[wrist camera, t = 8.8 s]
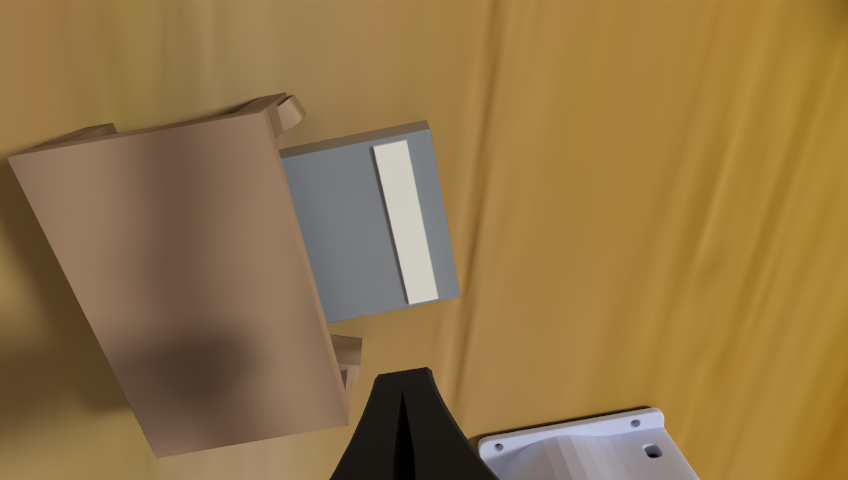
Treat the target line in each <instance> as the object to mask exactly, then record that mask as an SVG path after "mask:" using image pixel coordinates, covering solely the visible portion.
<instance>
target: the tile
mask: <svg viewBox="0 0 848 480" xmlns="http://www.w3.org/2000/svg"><path fill="white" fill-rule="evenodd" d="M279 154H280V157H281V161H282V165H283V168H284V172H285V175H286V179H287V183H288V186H289V190H290V193H291V197H292V201H293V204H294V208H295V211H296V215H297V219H298V222H299V226H300V229H301V233H302V237H303V240H304V244H305V247H306V251H307V255H308V258H309V262H310V265H311V269H312V273H313V276H314V280H315V283H316V287H317V291H318V294H319V298H320V301H321V305H322V309H323V312H324V316H325V319H326V323H332V322H337V321H342V320H347V319H352V318H357V317H362V316H367V315H372V314H377V313H382V312H387V311H392V310H397V309H402V308H407V307H412V306H417V305H422V304H427V303H432V302H437V301H442V300H447V299H452V298H457V297H460V292H459V286H458V281H457V275H456V270H455V264H454V258H453V253H452V247H451V242H450V236H449V231H448V225H447V220H446V214H445V209H444V203H443V198H442V192H441V187H440V181H439V176H438V170H437V164H436V159H435V153H434V148H433V142H432V137H431V131H430V128H429V125H428V123H427V120H424V121H419V122H414V123H409V124H404V125H399V126H394V127H389V128H384V129H379V130H374V131H369V132H364V133H359V134H354V135H349V136H344V137H339V138H334V139H329V140H324V141H319V142H315V143H310V144H305V145H300V146H295V147H290V148H285V149H280V150H279Z"/></svg>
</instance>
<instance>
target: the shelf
mask: <svg viewBox="0 0 848 480" xmlns="http://www.w3.org/2000/svg"><path fill="white" fill-rule="evenodd" d="M305 114H306V113H305V111H304V110H303V108H302V107H301V105H300V103H299V102H298V100H297V99H296V97H295V96H294V95H292V96H291V97H289V98H287V96H286V93H282V94H276V95H271V96H265V97H259V98H258V99H256V100H254V101H253V102H251V103H250V104H248V105H247V106H245V107H243V108H242V109H240V110H239V111H237V112H236V113H232V114H226V115H221V116H215V117H209V118H203V119H198V120H192V121H186V122H181V123H175V124H169V125H163V126H158V127H152V128H146V129H140V130H135V131H129V132H123V133H118V134H117V132H116V130H115V127H114V125H113V123H110V124H104V125H99V126H93V127H87V128H84V129H81V130H79V131H76V132H73V133H70V134H68V135H65V136H62V137H60V138H57V139H54V140H51V141H49V142H46V143H43V144H41V145H38V146H35V147H32V148H30V149H27V150H24V151H22V152H19V153H16V154H14V155H11V156H8V157H7V159H8V161H9V163H10V165H11V167H12V169H13V171H14V173H15V175H16V177H17V179H18V181H19V183H20V185H21V187H22V189H23V191H24V193H25V195H26V197H27V199H28V201H29V203H30V205H31V207H32V209H33V211H34V213H35V215H36V217H37V219H38V221H39V223H40V225H41V227H42V229H43V231H44V233H45V235H46V237H47V239H48V241H49V243H50V245H51V247H52V249H53V251H54V253H55V256H56V258H57V260H58V262H59V264H60V266H61V268H62V270H63V272H64V274H65V276H66V278H67V280H68V282H69V284H70V286H71V288H72V290H73V292H74V294H75V296H76V298H77V300H78V302H79V304H80V306H81V308H82V310H83V312H84V314H85V316H86V318H87V320H88V322H89V324H90V326H91V328H92V330H93V332H94V334H95V336H96V338H97V340H98V342H99V344H100V346H101V348H102V350H103V352H104V354H105V356H106V358H107V360H108V362H109V364H110V366H111V368H112V370H113V372H114V374H115V376H116V378H117V380H118V382H119V384H120V386H121V388H122V390H123V392H124V394H125V396H126V398H127V400H128V402H129V404H130V406H131V408H132V410H133V412H134V414H135V416H136V418H137V420H138V422H139V424H140V426H141V428H142V430H143V433H144V435H145V437H146V439H147V441H148V443H149V445H150V447H151V449H152V451H153V453H154V455H155V457H156V458H161V457H167V456H172V455H178V454H184V453H190V452H195V451H201V450H207V449H212V448H218V447H224V446H229V445H235V444H241V443H247V442H252V441H258V440H264V439H269V438H275V437H281V436H286V435H292V434H298V433H304V432H309V431H315V430H321V429H326V428H332V427H338V426H343V425H348V421H349V410H350V399H351V387H352V380H353V381H358V375H359V370H360V361H361V347H362V339H360V338H352V337H344V336H335V335H330V334H329V330H328V327H327V323H326V319H325V316H324V312H323V309H322V305H321V301H320V298H319V294H318V291H317V287H316V283H315V280H314V276H313V273H312V269H311V265H310V262H309V258H308V255H307V251H306V247H305V244H304V240H303V237H302V233H301V229H300V226H299V222H298V219H297V215H296V211H295V208H294V204H293V201H292V197H291V193H290V190H289V186H288V183H287V179H286V175H285V172H284V168H283V165H282V161H281V157H280V154H279V150H278V147H277V143H276V138H277V137H278V136H279V135H280V134H281V133H283V132H285V131H286V130H288V129H290V128H291V127H293V126H295V125H296V124H298V123H299V122H300V120H301V119H302V118H303V117H304V116H305Z"/></svg>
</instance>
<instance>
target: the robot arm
mask: <svg viewBox="0 0 848 480" xmlns="http://www.w3.org/2000/svg"><path fill="white" fill-rule="evenodd" d="M633 420H635V421H633ZM632 421H633V422H632ZM496 444H500V445H498V446H495V445H496ZM478 451H479V455H478V453H477V452H476V451H475V449H474V448H473V447H472V445H471V444H470V443H469V441H468V440H467V438H466V437H465V436H464V434H463V433H462V431H461V430H460V428H459V427H458V425H457V423H456V422H455V420H454V418H453V417H452V415H451V413H450V412H449V410H448V408H447V407H446V405H445V403H444V401H443V399H442V397H441V395H440V393H439V391H438V389H437V386H436V384H435V381H434V378H433V375H432V370H430V369H429V368H427V367H424V368H418V369H411V370H405V371H399V372H392V373H386V374H379V375H378V376H377V377H376V378H375V381H374V385H373V388H372V391H371V394H370V397H369V400H368V402H367V405H366V407H365V410H364V412H363V415H362V417H361V419H360V421H359V424H358V426H357V428H356V430H355V433H354V435H353V437H352V439H351V441H350V443H349V445H348V447H347V449H346V451H345V452H344V454H343V456H342V458H341V460H340V462H339V464H338V466H337V467H336V469H335V471H334V473H333V474H332V476H331V478H330V479H329V480H700V479H699V478H698V477H697V475H696V474H695V472H694V471H693V469H692V468H691V466H690V465H689V463H688V462H687V460H686V459H685V457H684V456H683V455H682V453H681V452H680V450H679V449H678V447H677V446H676V444H675V443H674V441H673V440H672V438H671V437H670V436H669V434H668V433H667V431H666V430H665V428H664V415H663V414H662V412H661V411H660V410H659V409H658V408H647V409H642V410H636V411H630V412H625V413H619V414H613V415H607V416H602V417H596V418H590V419H585V420H579V421H573V422H568V423H562V424H556V425H551V426H545V427H539V428H533V429H528V430H522V431H516V432H511V433H505V434H499V435H494V436H488V437H484V438H482V439H481V440H480V441H479V442H478Z"/></svg>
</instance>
